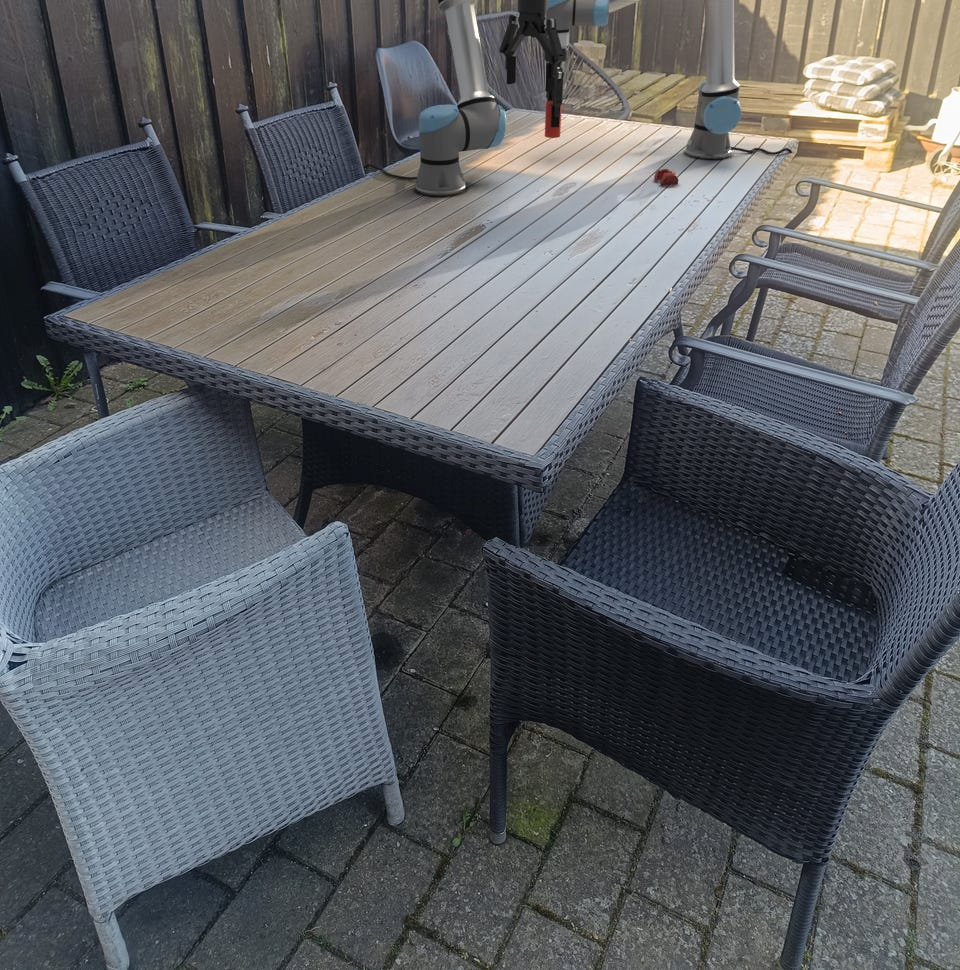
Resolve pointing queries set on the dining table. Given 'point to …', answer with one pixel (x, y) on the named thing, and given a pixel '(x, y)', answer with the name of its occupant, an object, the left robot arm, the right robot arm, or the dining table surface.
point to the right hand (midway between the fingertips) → (553, 124)
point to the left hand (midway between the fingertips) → (530, 87)
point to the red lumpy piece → (666, 177)
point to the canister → (550, 131)
